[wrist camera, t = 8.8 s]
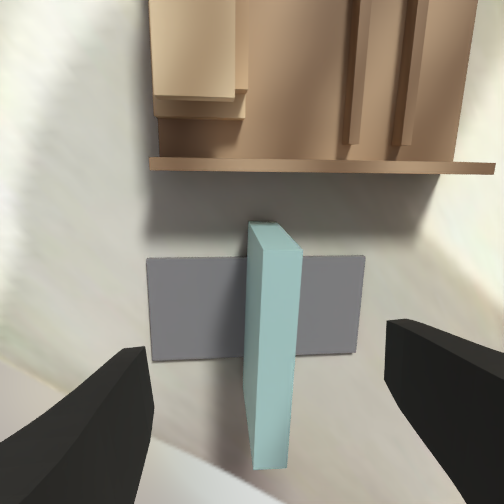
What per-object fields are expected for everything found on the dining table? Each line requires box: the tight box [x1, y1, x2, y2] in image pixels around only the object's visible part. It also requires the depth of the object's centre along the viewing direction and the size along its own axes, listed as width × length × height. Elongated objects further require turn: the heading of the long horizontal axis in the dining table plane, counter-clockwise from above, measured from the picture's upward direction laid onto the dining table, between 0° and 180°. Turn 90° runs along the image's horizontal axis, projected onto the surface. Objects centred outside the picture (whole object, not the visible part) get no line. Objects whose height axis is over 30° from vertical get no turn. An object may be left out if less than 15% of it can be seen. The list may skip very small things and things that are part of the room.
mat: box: [146, 255, 365, 361], centre depth 21 cm, size 12×6×1 cm, turn 89°
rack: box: [148, 0, 496, 175], centre depth 15 cm, size 15×14×4 cm
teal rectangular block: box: [243, 221, 303, 470], centre depth 18 cm, size 2×10×6 cm, turn 178°
